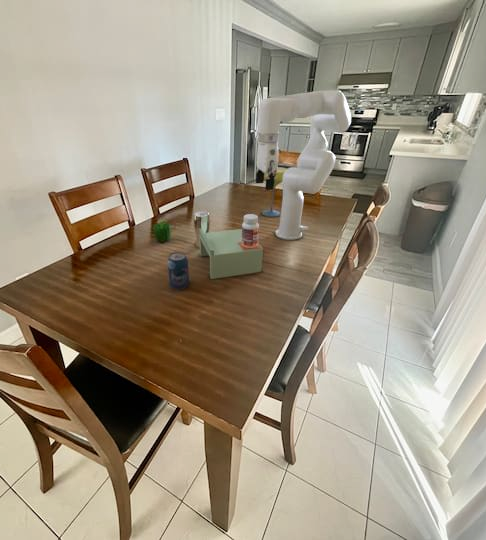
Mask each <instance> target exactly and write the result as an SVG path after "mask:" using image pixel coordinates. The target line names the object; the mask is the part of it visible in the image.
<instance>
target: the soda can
mask: <svg viewBox="0 0 486 540" xmlns="http://www.w3.org/2000/svg"><path fill="white" fill-rule="evenodd" d="M167 270H168V280H169V281H168V282H169V285H170V287H171V288H173V289H174V290H176V291H180V290H184V289H186V288H187V287H188V286H189V284H190V274H189V260H188V258H187V256H186V254H185V253H184V252H180V251H175V252H172V253H170V254H169V255H168V258H167Z"/></svg>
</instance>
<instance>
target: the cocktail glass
mask: <svg viewBox="0 0 486 540" xmlns="http://www.w3.org/2000/svg"><path fill="white" fill-rule="evenodd" d="M288 168H291V167H290V166H285V165H280V164H278V168H277V172H276V176H275V180H274V189H273V190H272V193H271V203H270V208H269V209H264V210H263V211H262V210H261V215H262V216H265V217H268V218H276V217H279V216H281V211H278V210H274V209H273V205H274V204H273V203H274V193H275V192H274V190H275V188H276V187H277V186H278V185H281V184H283V183H282V178H283V174H284V172H285V171H286V170H287V169H288ZM262 173H264V182H266V179H267V175H266V173H265V172H262ZM269 175H270V173H269Z"/></svg>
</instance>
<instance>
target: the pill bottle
mask: <svg viewBox="0 0 486 540" xmlns="http://www.w3.org/2000/svg"><path fill="white" fill-rule="evenodd" d="M241 229H242V239H241V244H242V246H244V247H246V248H254V247H256V246H257V245H258V244H259V229H260V225H259V216H258V215H257V214H253V213H248V214H244V215H243V222H242V224H241Z"/></svg>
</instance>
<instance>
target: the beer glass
mask: <svg viewBox="0 0 486 540" xmlns="http://www.w3.org/2000/svg"><path fill="white" fill-rule="evenodd" d="M210 221H211V220H210V213H209V212H208V211H202V210H201V211H196V212H194V213H193V229H194V233H195V238H196V241H195V247H197V248H199V249H200V237H199V229H202V230H203V232H204V233H209V232H210V228H211V227H210V226H211V222H210Z"/></svg>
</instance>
